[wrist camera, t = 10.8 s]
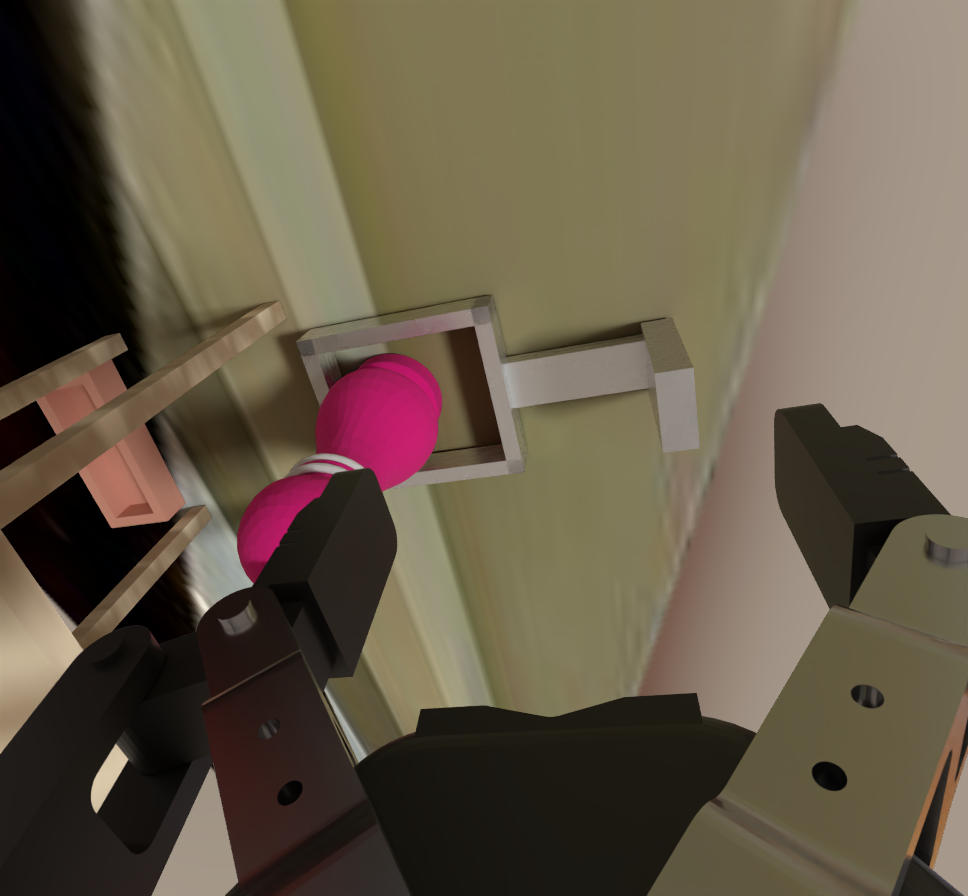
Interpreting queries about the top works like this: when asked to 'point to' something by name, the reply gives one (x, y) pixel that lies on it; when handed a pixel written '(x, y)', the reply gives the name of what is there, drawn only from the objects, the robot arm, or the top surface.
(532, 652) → the top surface
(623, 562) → the top surface
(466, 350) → the top surface
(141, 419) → the shelf tunnel
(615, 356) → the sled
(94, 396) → the pit tray
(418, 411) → the pepper mill
